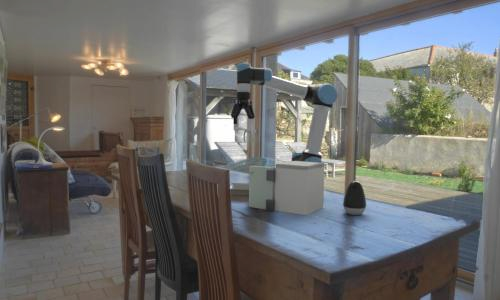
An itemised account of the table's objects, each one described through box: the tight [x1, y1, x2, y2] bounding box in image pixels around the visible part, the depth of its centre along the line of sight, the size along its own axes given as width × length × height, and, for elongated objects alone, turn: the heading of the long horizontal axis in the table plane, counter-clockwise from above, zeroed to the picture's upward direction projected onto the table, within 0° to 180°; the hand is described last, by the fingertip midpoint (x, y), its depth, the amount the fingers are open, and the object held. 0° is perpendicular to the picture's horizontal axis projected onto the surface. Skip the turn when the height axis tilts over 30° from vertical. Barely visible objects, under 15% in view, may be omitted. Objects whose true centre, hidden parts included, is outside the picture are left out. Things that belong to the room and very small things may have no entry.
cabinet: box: [274, 160, 325, 216], centre depth 185 cm, size 20×16×22 cm
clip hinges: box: [265, 170, 276, 212], centre depth 184 cm, size 7×4×19 cm, turn 147°
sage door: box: [248, 165, 276, 210], centre depth 186 cm, size 4×13×20 cm, turn 57°
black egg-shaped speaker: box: [342, 180, 367, 216], centre depth 177 cm, size 10×10×15 cm
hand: (243, 130), depth 216 cm, fingers open, 13 cm apart
